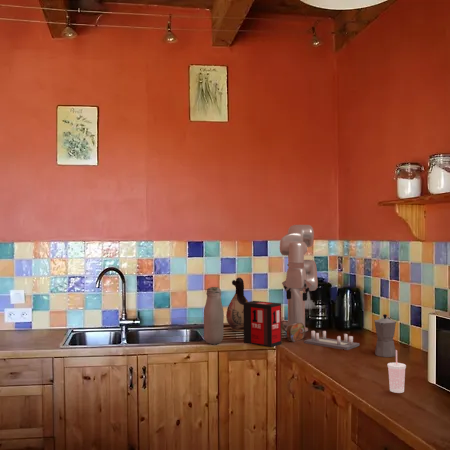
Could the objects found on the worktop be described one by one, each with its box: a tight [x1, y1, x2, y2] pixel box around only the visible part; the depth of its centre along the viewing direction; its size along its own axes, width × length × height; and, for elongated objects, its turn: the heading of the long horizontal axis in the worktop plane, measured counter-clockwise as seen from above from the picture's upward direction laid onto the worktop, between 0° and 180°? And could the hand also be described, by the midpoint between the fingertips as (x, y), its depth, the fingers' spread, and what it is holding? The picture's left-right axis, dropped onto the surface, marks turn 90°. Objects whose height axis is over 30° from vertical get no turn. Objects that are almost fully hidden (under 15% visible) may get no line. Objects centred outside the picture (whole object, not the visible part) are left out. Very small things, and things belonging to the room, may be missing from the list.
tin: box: [286, 323, 306, 343], centre depth 261 cm, size 15×3×8 cm, turn 143°
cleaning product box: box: [243, 300, 283, 348], centre depth 254 cm, size 16×9×20 cm, turn 51°
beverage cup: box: [387, 349, 407, 394], centre depth 177 cm, size 6×6×14 cm
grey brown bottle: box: [203, 286, 225, 345], centre depth 254 cm, size 10×10×28 cm
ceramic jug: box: [225, 276, 249, 333], centre depth 288 cm, size 17×15×30 cm
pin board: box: [304, 330, 360, 351], centre depth 250 cm, size 24×12×5 cm, turn 47°
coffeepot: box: [374, 314, 397, 358], centre depth 229 cm, size 15×9×18 cm, turn 150°
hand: (296, 299), depth 261 cm, fingers open, 9 cm apart
